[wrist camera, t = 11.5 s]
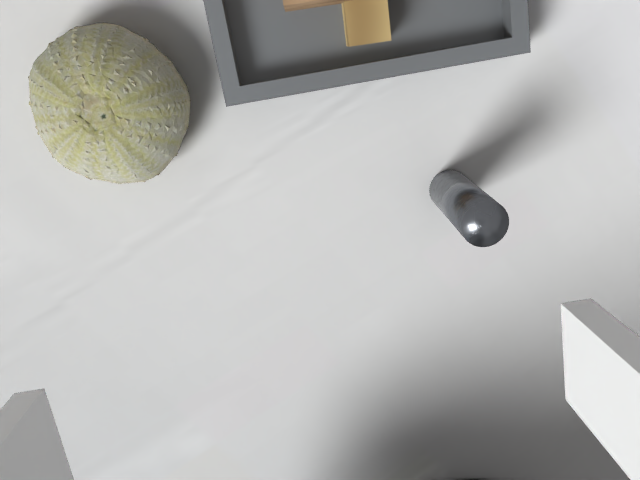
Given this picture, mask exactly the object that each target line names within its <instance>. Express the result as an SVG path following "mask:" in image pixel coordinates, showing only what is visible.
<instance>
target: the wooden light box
mask: <svg viewBox="0 0 640 480" xmlns="http://www.w3.org/2000/svg"><path fill="white" fill-rule="evenodd" d="M335 4H341V5H342V13H343V21H344V30H345V38H346V46H348V47H351V46H358V45H364V44H371V43H378V42H385V41H391V31H390V20H389V10H388V0H283V5H284V9H285V12H288V11H295V10H301V9H308V8H315V7H322V6H328V5H335Z"/></svg>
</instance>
